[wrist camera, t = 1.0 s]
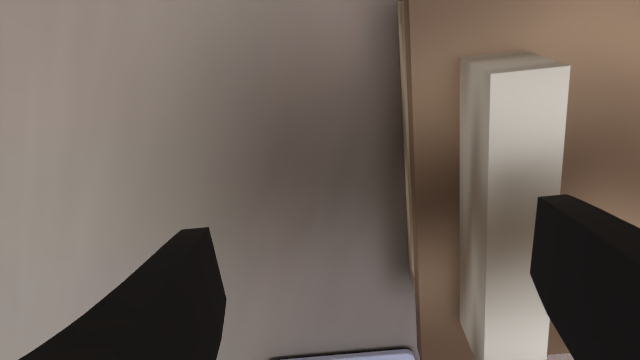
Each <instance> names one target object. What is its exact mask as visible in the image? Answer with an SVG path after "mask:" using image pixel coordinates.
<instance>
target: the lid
mask: <svg viewBox="0 0 640 360" xmlns="http://www.w3.org/2000/svg"><path fill="white" fill-rule="evenodd" d="M404 24H405V49H406V74H407V99H408V124H409V149H410V174H411V199H412V225H413V250H414V275H415V300H416V325H417V348H418V352H419V356H420V360H546V359H547V355H550V354H562V353H570V352H569V350H568V349H567V347H566V345H565V344H564V342H563V340H562V339H561V337H560V335H559V333H558V332H557V330H556V328H555V327H554V325H553V323H552V322H551V320H550V318H549V316H548V315H547V313H546V311H545V308H544V306H543V304H542V302H541V299H540V297H539V295H538V292H537V290H536V288H535V285H534V283H533V280H532V278H531V275H530V266H531V257H532V247H533V238H534V228H535V219H536V210H537V200H538V197H541V196H552V195H563V194H568V195H570V196H573V197H576V198H578V199H580V200H583V201H585V202H587V203H589V204H591V205H593V206H595V207H598V208H600V209H602V210H604V211H606V212H608V213H610V214H612V215H614V216H616V217H618V218H620V219H622V220H624V221H626V222H628V223H630V224H632V225H634V226H636V227H638V228H640V0H404Z"/></svg>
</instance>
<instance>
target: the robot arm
mask: <svg viewBox="0 0 640 360" xmlns="http://www.w3.org/2000/svg"><path fill="white" fill-rule="evenodd" d="M530 275H531V278H532V280H533V283H534V285H535V288H536V290H537V292H538V295H539V297H540V299H541V302H542V304H543V306H544V308H545V311H546V313H547V315H548V316H549V318H550V320H551V322H552V323H553V325H554V327H555V328H556V330H557V332H558V333H559V335H560V337H561V339H562V340H563V342H564V344H565V345H566V347H567V349H568V350H569V352H570V353H571V355H572V357H573V358H574V360H640V228H638V227H636V226H634V225H632V224H630V223H628V222H626V221H624V220H622V219H620V218H618V217H616V216H614V215H612V214H610V213H608V212H606V211H604V210H602V209H600V208H598V207H595V206H593V205H591V204H589V203H587V202H585V201H583V200H580V199H578V198H576V197H573V196H570V195H568V194H563V195H552V196H541V197H538V200H537V210H536V219H535V228H534V238H533V247H532V257H531V266H530ZM225 307H226V296H225V292H224V288H223V283H222V279H221V275H220V271H219V267H218V263H217V259H216V255H215V251H214V247H213V243H212V239H211V235H210V231H209V227H206V228H195V229H184V230H181V231H180V232H178V233H177V234H176V235H175V236H173V237H172V238H171V239H170V240H169V241H168V242H167V243H166V244H164V245H163V246H162V247H161V248H160V249H159V250H158V251H157V252H156V253H155V254H154V255H152V256H151V257H150V258H149V259H148V260H147V261H146V262H145V263H144V264H143V265H141V266H140V267H139V268H138V269H137V270H136V271H135V272H134V273H133V274H131V275H130V276H129V277H128V278H127V279H126V280H125V281H124V282H122V283H121V284H120V285H119V286H118V287H117V288H115V289H114V290H113V291H112V292H110V293H109V294H108V295H107V296H106V297H104V298H103V299H102V300H101V301H100V302H98V303H97V304H96V305H95V306H93V307H92V308H91V309H90V310H89V311H87V312H86V313H85V314H84V315H82V316H81V317H80V318H78V319H77V320H76V321H74V322H73V323H72V324H70V325H69V326H68V327H66V328H65V329H64V330H62V331H61V332H59V333H58V334H56V335H55V336H54V337H52V338H51V339H49V340H48V341H46V342H45V343H44V344H42V345H41V346H39V347H38V348H36V349H35V350H33V351H32V352H30V353H29V354H27V355H25V356H24V357H22V358H20V359H19V360H216V358H217V354H218V350H219V346H220V342H221V338H222V330H223V323H224V315H225ZM282 360H415V358H414V354H413V352H412V351H410V350H408V349H400V350H388V351H377V352H365V353H353V354H341V355H329V356H318V357H306V358H294V359H282Z"/></svg>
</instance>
